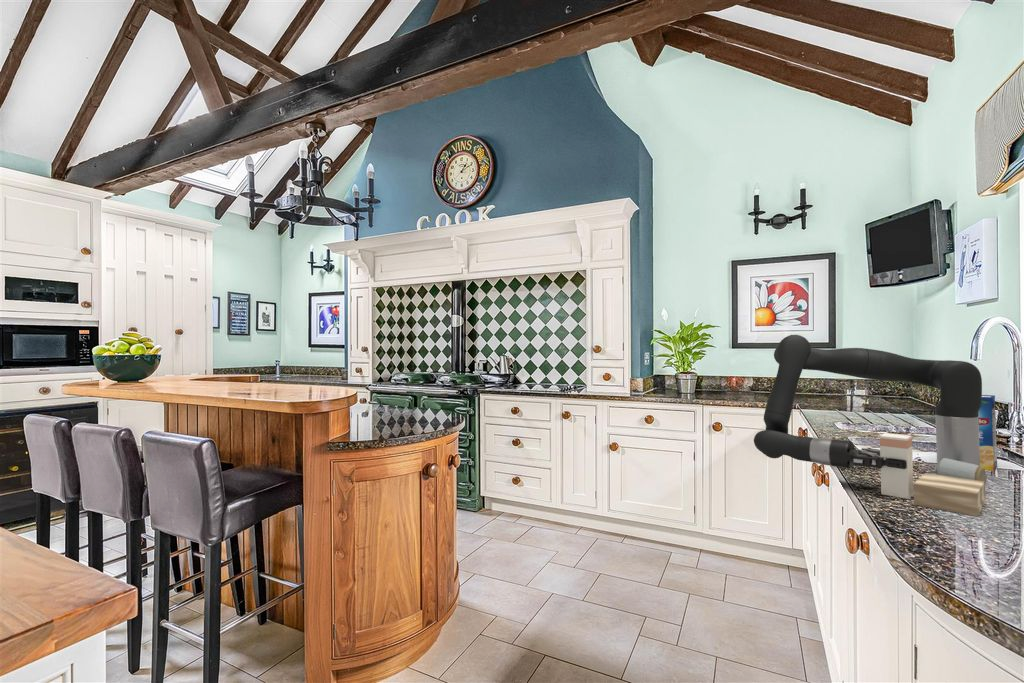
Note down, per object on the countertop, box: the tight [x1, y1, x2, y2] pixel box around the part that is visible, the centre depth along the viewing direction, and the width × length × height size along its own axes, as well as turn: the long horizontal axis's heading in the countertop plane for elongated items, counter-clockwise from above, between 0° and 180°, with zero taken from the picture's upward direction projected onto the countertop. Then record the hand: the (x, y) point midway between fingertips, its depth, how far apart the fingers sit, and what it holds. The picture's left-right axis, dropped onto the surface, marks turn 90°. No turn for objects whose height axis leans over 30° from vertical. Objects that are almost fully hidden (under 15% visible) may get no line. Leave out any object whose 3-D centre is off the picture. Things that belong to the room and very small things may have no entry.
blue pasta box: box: [978, 394, 998, 472], centre depth 148 cm, size 7×11×22 cm, turn 39°
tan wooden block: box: [913, 472, 987, 517], centre depth 114 cm, size 14×11×5 cm
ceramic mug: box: [936, 458, 987, 485], centre depth 125 cm, size 11×8×8 cm
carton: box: [878, 432, 914, 500], centre depth 122 cm, size 6×6×15 cm
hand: (908, 462), depth 120 cm, fingers closed on carton, 5 cm apart
